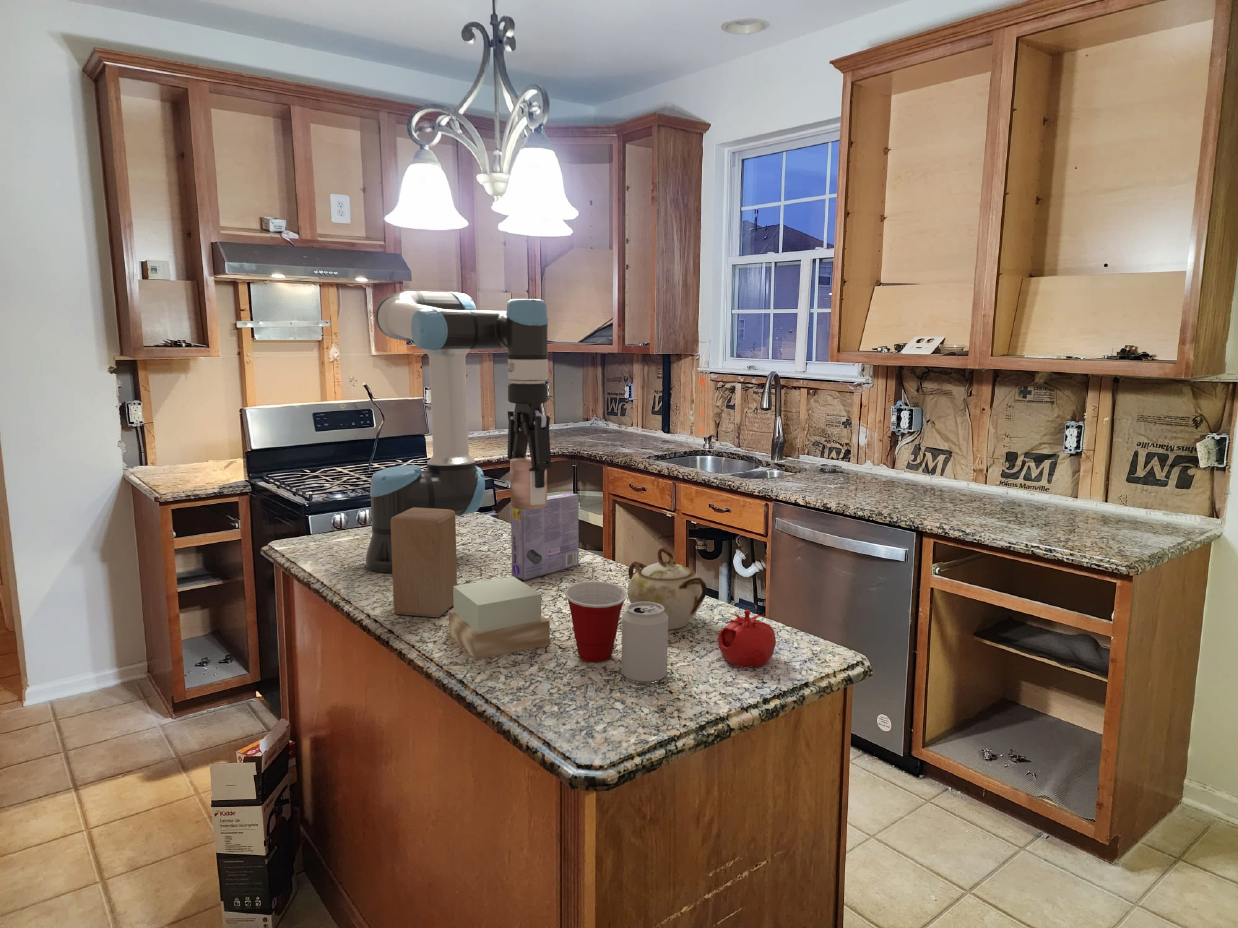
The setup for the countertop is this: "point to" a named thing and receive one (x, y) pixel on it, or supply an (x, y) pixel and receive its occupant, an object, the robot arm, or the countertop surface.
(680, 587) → the sugar bowl
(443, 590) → the block
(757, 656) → the pomegranate
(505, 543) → the countertop surface
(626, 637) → the can
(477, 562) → the countertop surface
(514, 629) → the tower base
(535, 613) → the tower top
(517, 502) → the pink rounded cylinder
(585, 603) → the plastic cup
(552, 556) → the cake pan box
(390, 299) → the robot arm
